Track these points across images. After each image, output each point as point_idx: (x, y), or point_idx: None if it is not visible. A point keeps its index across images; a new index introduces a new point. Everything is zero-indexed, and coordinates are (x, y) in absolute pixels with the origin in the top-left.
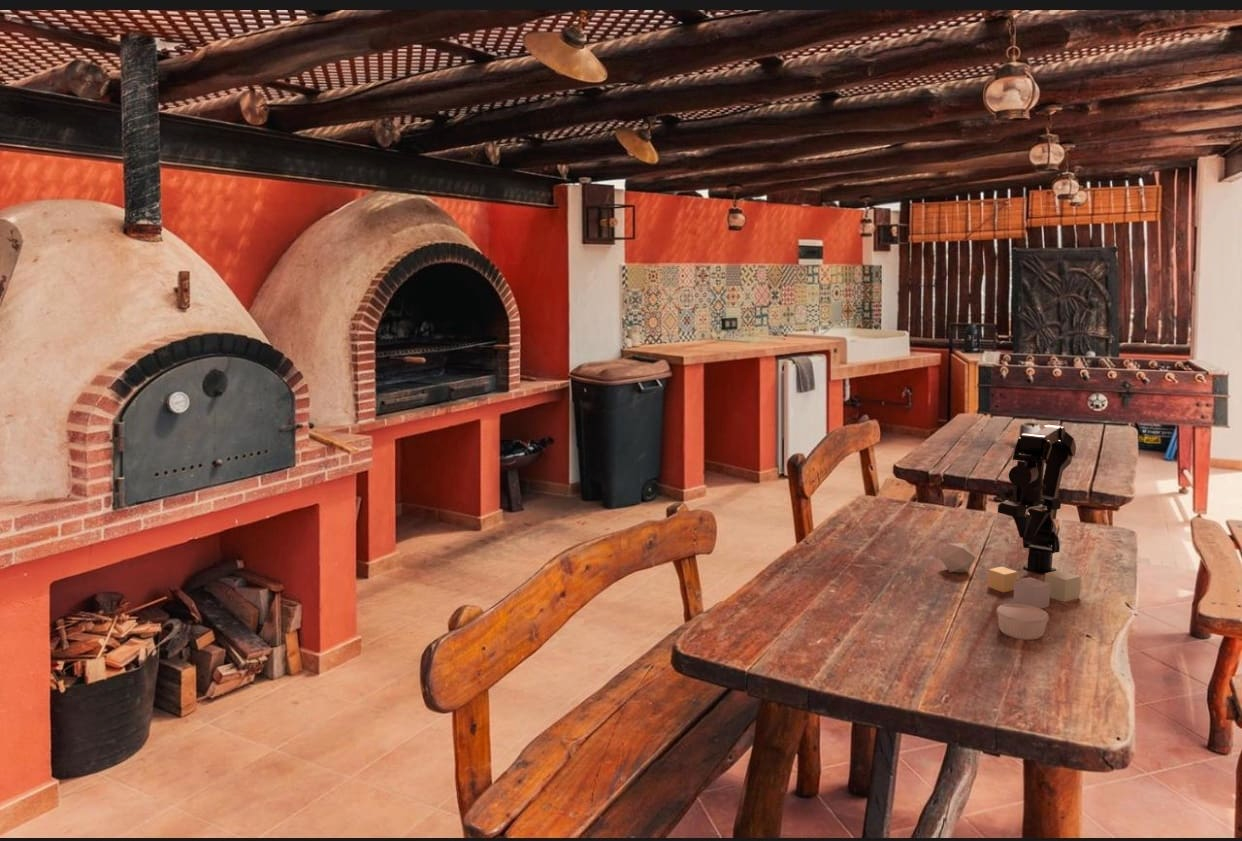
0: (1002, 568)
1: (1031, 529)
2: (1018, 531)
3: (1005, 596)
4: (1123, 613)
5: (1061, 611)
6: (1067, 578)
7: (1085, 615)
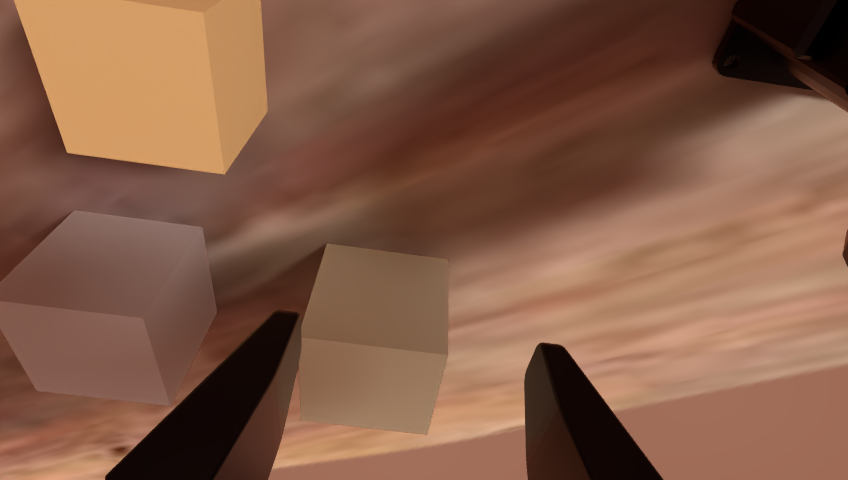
0: (165, 53)
1: (551, 429)
2: (212, 378)
3: None
4: (400, 448)
5: (215, 355)
6: (330, 417)
7: None
